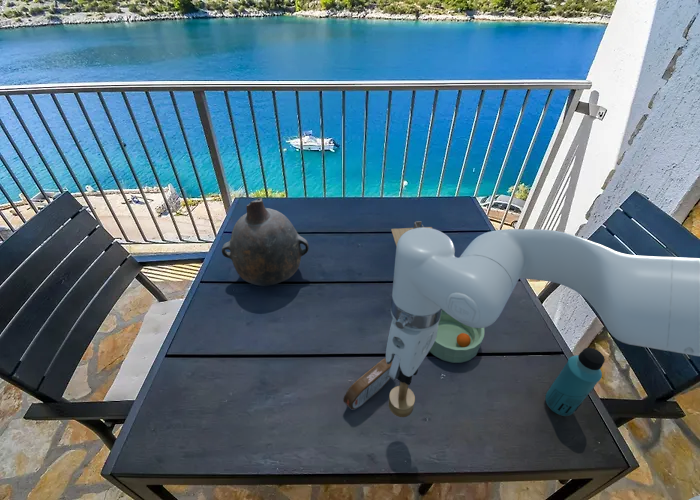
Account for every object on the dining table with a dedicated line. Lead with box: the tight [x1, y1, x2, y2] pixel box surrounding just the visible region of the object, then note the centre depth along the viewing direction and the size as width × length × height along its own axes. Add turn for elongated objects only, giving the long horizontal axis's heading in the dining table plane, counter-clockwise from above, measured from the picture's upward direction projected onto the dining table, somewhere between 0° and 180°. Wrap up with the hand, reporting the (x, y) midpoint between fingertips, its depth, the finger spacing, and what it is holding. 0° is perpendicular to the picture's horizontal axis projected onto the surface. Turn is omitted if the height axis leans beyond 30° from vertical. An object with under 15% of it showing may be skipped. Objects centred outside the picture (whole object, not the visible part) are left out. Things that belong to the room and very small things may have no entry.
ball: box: [457, 333, 471, 347], centre depth 93 cm, size 4×4×4 cm
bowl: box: [429, 310, 485, 364], centre depth 94 cm, size 16×16×6 cm
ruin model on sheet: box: [390, 220, 433, 247], centre depth 125 cm, size 25×16×10 cm, turn 5°
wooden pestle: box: [387, 381, 416, 418], centre depth 65 cm, size 5×5×16 cm
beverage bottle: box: [545, 347, 606, 417], centre depth 75 cm, size 6×7×20 cm
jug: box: [221, 197, 310, 286], centre depth 107 cm, size 24×21×30 cm
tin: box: [343, 357, 392, 411], centre depth 81 cm, size 15×3×8 cm, turn 131°
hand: (405, 374), depth 63 cm, fingers closed on wooden pestle
